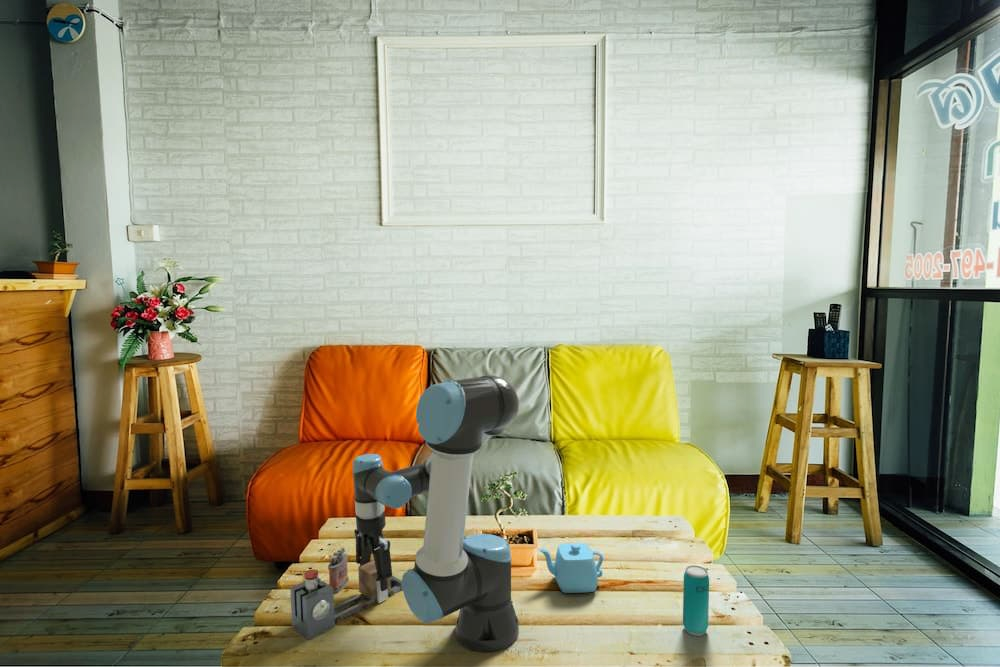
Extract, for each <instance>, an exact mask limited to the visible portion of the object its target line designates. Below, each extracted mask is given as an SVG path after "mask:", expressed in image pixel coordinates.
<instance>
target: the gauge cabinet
mask: <svg viewBox="0 0 1000 667" xmlns="http://www.w3.org/2000/svg"><path fill="white" fill-rule="evenodd" d="M317 581H318V590H317V591H314V592H312V593H310V594H307V595H306V585H305V581H303V582H300V583H298V584H295V585H293V586H291V587H290V590H289V591H290V606H291V607H290V608H291V609H290V610H291V612H290V613H291V627H292V628H294V629H295V630H296V631H297V632H298V633H299V634H300V635H302V636H303V635H304V636H303V637H304V638H305V639H306V640H307V641H309V640H311V639H313V638H315V637H317V636H320V635H321V634H323V633H326V632H328V631H329V630H331V629H333V628H335V624H336V622H335V621H334V606H335V604H334V603H335V601H334V600H335V598H334V594H333V588H332V587H331V586H330V584H329V585H328V584H327V583H326V582H325V581H323V580H322V579H321V578H319V577H318V576H317ZM295 625H296V626H297V627H296V626H295ZM295 627H296V628H295ZM302 632H304V634H303V633H302Z"/></svg>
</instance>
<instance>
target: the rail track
mask: <svg viewBox="0 0 1000 667" xmlns="http://www.w3.org/2000/svg"><path fill="white" fill-rule="evenodd" d="M399 591H403V588H402V579H399V578H398V577H397V576H395V575H392V577H391V591H390V592H388V597H393V596H395V595H396V593H398V592H399ZM357 603H358V604H357ZM375 603H378V600H377V598H376V599H374V600H371V599H369V598H368V597H366V596H365V595H363V594H362V593H359V594H357V595H355V596H354V597H351V598H348V599H347V600H345V601H342V602H341V603H338V604H337V605H334V621H335V623H340V622H342V621H343V619H344V618H347V617H348V616H351V615H352V614H354V613H357V612H359V611H361V610H363V609H365V610H366V609H368V607H369V608H370V606H371V605H373V604H375ZM354 604H355V605H354ZM350 605H351V607H350ZM348 606H349V607H348ZM341 609H342V610H343V611H342V610H341ZM344 609H345V610H344ZM295 626H296V625H295ZM296 627H297V626H296ZM296 627H295V628H296ZM295 628H294V629H295ZM302 633H303V634H304V632H302ZM302 636H303V637H304V635H302Z"/></svg>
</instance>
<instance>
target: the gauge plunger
mask: <svg viewBox="0 0 1000 667" xmlns="http://www.w3.org/2000/svg"><path fill="white" fill-rule="evenodd" d="M318 576H319V571H318V570H317V569H308V570H306V571H304V576H303V578H304V580H305V581H304V582H305V585H306V595H307V594H310V593H312V592H314V591H317V590H318V581H317V577H318Z"/></svg>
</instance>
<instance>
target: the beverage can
mask: <svg viewBox="0 0 1000 667" xmlns="http://www.w3.org/2000/svg"><path fill="white" fill-rule="evenodd" d="M682 593H683V595H682V596H683V598H682V623H683V627H684V630H685V631H686V632H687V634H689V635H691V636H693V637H694V636H695V637H702V636H704V635H706V632H707V629H708V628H709V607H710V606H709V602H710V600H709V599H710V577H709V571H708V570H707V569H706V568H704V567H702V566H699V565H689V566H686V567H685V568H684V573H683V592H682Z"/></svg>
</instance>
